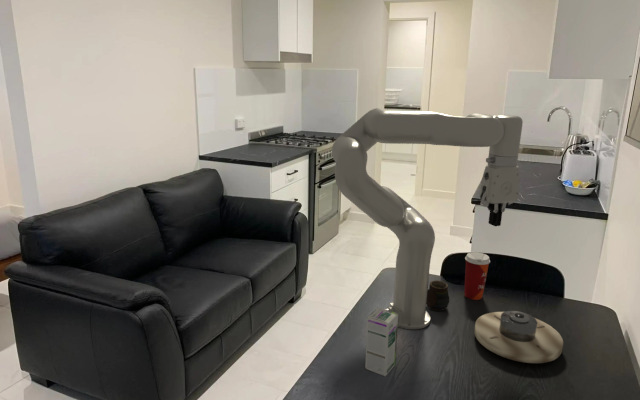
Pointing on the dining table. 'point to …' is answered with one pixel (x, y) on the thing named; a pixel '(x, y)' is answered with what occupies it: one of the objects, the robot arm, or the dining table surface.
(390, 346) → the syrup box
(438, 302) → the mate gourd
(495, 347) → the turntable
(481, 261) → the paper cup
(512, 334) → the cover
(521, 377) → the dining table surface
